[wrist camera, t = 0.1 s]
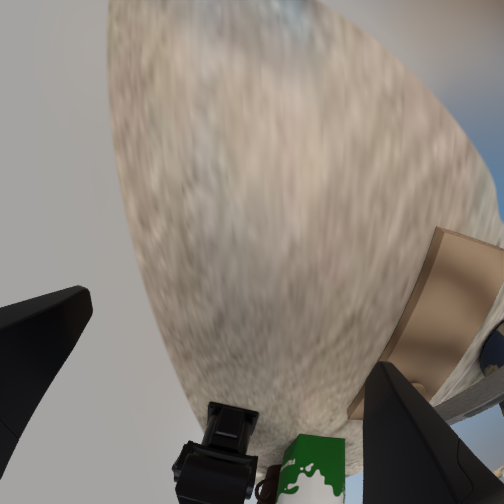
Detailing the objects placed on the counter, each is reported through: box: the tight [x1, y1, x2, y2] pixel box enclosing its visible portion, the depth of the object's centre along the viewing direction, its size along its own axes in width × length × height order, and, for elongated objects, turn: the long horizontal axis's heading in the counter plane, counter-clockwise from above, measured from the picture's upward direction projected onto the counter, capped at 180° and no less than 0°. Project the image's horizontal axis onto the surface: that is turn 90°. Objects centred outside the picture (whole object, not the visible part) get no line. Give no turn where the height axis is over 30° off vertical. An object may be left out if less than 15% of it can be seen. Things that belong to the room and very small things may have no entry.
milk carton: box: [276, 434, 345, 504], centre depth 24 cm, size 9×9×20 cm
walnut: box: [411, 383, 426, 398], centre depth 22 cm, size 3×3×3 cm
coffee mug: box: [255, 465, 282, 504], centre depth 33 cm, size 12×9×10 cm
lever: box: [433, 365, 504, 426], centre depth 16 cm, size 19×3×2 cm, turn 172°
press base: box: [347, 227, 504, 420], centre depth 22 cm, size 24×10×2 cm, turn 172°
